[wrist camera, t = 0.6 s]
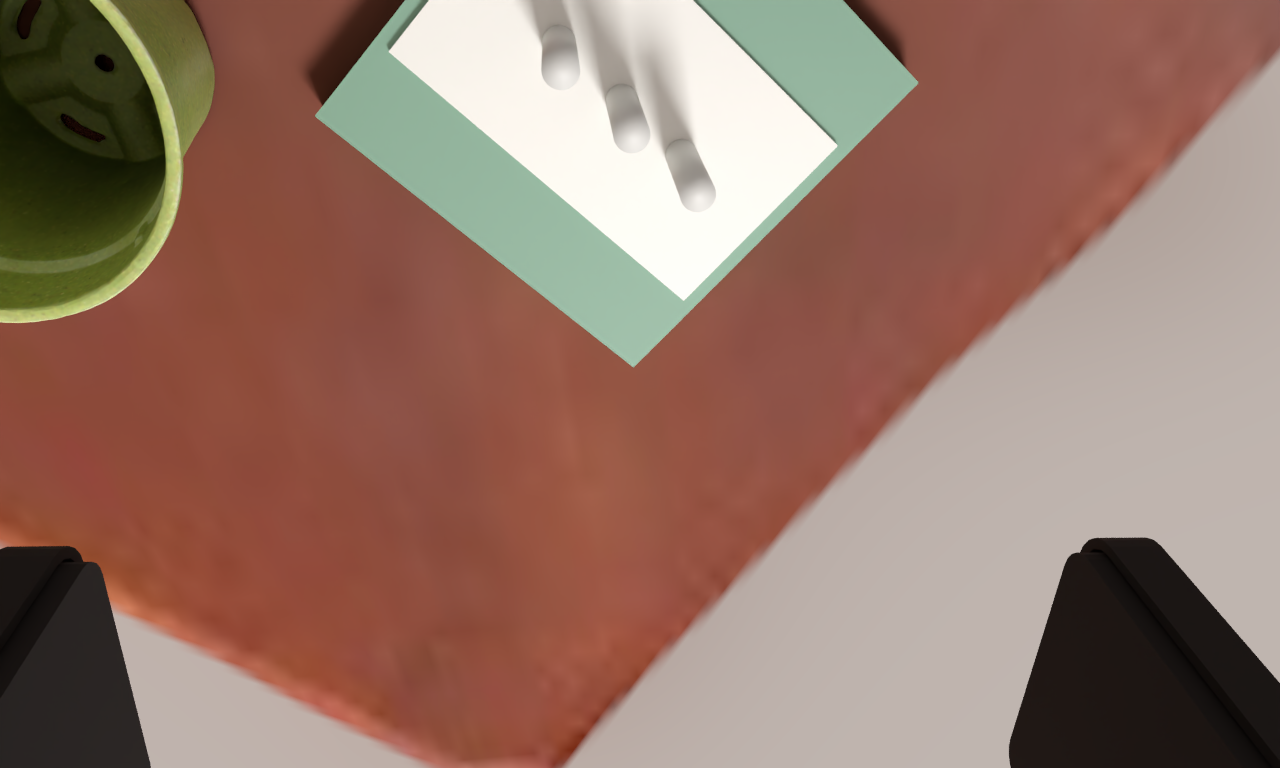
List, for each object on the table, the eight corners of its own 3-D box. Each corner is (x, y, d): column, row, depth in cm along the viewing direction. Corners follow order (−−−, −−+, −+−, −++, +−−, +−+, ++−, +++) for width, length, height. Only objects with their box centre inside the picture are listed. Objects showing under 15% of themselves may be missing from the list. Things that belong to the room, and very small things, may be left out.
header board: (603, -255, 27) (615, -274, 23) (906, 74, 32) (968, 115, 28) (322, 106, 31) (282, 154, 27) (631, 352, 36) (643, 429, 31)
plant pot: (-100, 118, 31) (-314, 211, 23) (-16, -191, 27) (-237, -202, 19) (207, 258, 33) (107, 383, 26) (319, -4, 30) (241, 50, 22)
